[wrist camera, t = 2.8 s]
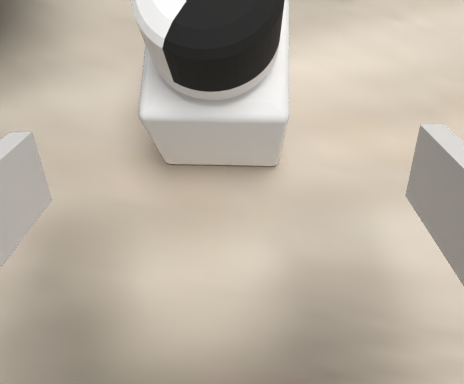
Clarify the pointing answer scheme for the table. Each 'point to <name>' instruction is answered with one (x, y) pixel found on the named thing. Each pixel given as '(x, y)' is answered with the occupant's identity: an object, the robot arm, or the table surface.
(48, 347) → the table surface
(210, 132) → the medicine bottle
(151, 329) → the table surface
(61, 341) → the table surface
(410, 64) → the table surface
